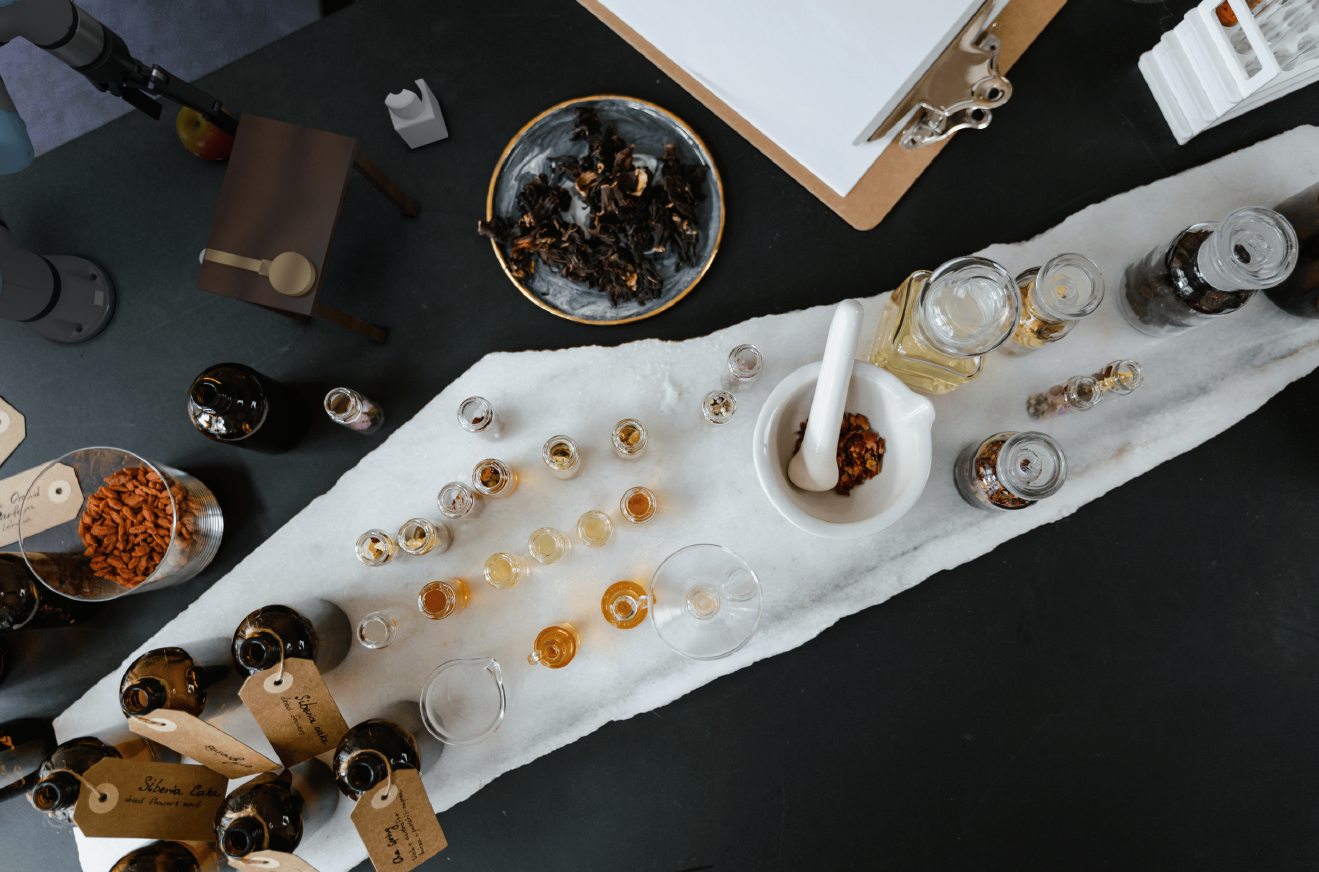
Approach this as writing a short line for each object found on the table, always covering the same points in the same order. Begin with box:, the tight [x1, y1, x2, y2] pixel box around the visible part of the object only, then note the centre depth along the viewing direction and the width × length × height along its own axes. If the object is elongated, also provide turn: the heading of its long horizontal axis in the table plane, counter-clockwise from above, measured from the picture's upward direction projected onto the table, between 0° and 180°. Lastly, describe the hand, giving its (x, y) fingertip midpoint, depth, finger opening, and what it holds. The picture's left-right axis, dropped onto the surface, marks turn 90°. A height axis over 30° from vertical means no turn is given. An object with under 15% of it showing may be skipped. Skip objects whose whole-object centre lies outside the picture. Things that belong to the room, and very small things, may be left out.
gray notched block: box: [379, 71, 449, 150], centre depth 112 cm, size 7×7×12 cm
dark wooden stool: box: [194, 112, 419, 343], centre depth 106 cm, size 17×26×24 cm, turn 166°
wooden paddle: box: [205, 248, 315, 297], centre depth 93 cm, size 16×6×1 cm, turn 76°
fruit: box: [175, 106, 239, 161], centre depth 115 cm, size 10×9×8 cm
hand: (196, 120), depth 112 cm, fingers open, 13 cm apart
